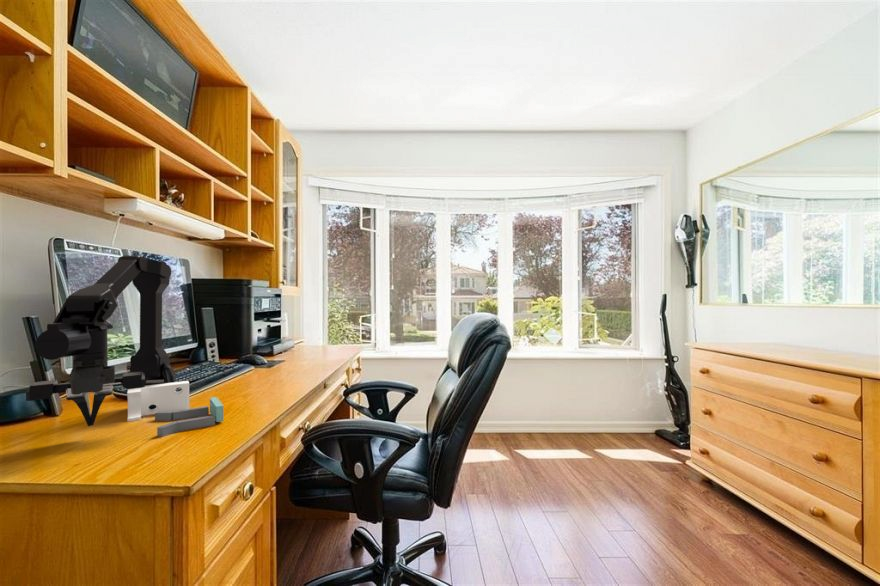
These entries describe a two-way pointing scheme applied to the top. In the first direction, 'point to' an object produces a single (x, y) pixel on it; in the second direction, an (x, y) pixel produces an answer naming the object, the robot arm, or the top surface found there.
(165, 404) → the bracket
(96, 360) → the robot arm
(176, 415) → the guide dock
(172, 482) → the top surface
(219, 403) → the end stop
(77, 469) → the top surface
